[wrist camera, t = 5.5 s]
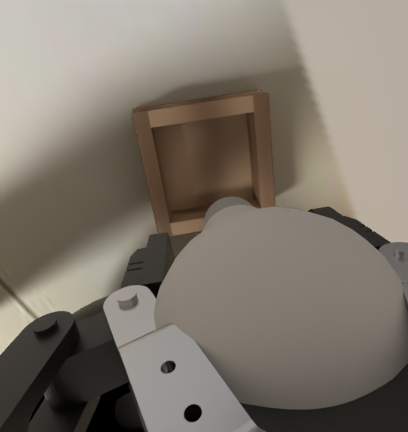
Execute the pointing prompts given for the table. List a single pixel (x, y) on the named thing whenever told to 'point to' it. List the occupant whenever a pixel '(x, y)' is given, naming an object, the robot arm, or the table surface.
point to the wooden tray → (205, 156)
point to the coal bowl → (109, 395)
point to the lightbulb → (287, 306)
